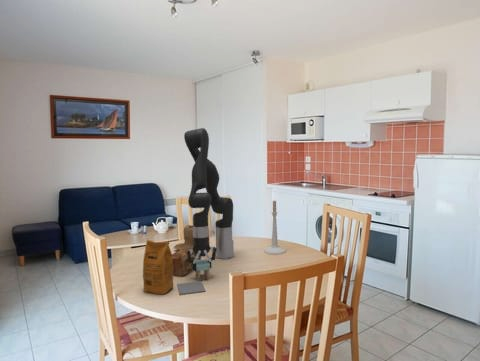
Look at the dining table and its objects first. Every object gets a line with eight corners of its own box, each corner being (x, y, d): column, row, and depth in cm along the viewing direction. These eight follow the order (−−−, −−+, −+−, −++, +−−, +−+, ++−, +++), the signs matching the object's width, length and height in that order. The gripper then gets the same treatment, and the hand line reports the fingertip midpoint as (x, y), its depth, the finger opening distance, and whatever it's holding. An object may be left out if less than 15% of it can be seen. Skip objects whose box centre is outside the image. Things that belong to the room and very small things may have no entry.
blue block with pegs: (207, 273, 174) (206, 259, 173) (210, 279, 166) (209, 264, 165) (194, 275, 172) (194, 260, 171) (197, 281, 165) (196, 265, 164)
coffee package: (153, 283, 163) (151, 236, 161) (176, 287, 158) (174, 238, 156) (139, 292, 154) (137, 242, 152) (163, 296, 149) (161, 245, 147)
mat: (201, 282, 164) (201, 280, 163) (205, 291, 153) (205, 290, 153) (177, 285, 161) (176, 283, 161) (179, 295, 150) (179, 293, 150)
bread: (183, 277, 170) (182, 257, 169) (164, 274, 174) (163, 254, 173) (202, 264, 187) (201, 246, 186) (184, 262, 191) (184, 244, 190)
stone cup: (206, 249, 213) (205, 224, 212) (193, 255, 203) (192, 229, 202) (186, 245, 221) (185, 222, 220) (173, 251, 211) (172, 226, 210)
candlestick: (280, 255, 199) (279, 202, 195) (259, 252, 205) (259, 200, 202) (289, 249, 210) (289, 199, 206) (269, 246, 216) (269, 197, 213)
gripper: (214, 231, 172) (215, 265, 174) (184, 234, 169) (185, 268, 170) (217, 235, 165) (218, 270, 167) (186, 238, 161) (187, 274, 163)
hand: (202, 269), depth 169 cm, fingers closed on blue block with pegs, 6 cm apart
